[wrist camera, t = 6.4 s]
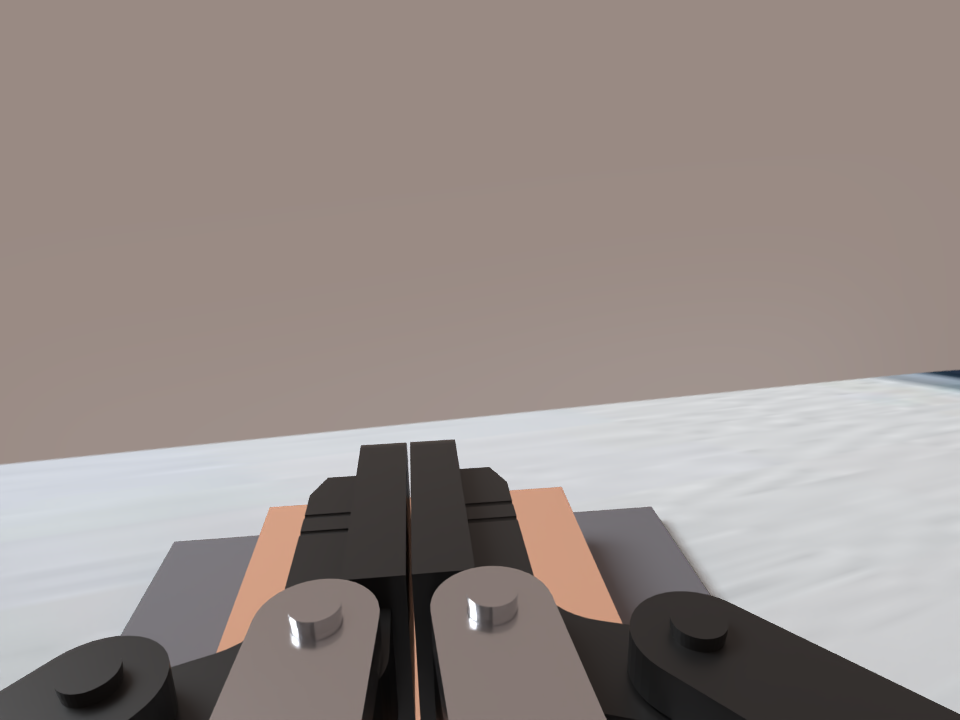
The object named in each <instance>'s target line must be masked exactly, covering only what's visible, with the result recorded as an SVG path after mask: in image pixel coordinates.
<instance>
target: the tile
mask: <svg viewBox="0 0 960 720" xmlns="http://www.w3.org/2000/svg"><path fill="white" fill-rule="evenodd" d="M510 495H511V498H512V504H513V505H514V509H515V512H516V515H517V520H518V522H519V526H520V529H521V533H522V536H523V540H524V543H525V547H526V550H527V554H528V557H529V560H530V564H531V567H532V571H533V574H534V577H536V578H537V579H539V580H540V581H541V582H543V583H544V584H545V586H546V587H547V588H548V589H549V591H550V592H551V594H552V596H553V598H554V601H555V603H556V605H557V606H559V607H560V608H562V609H564V610H566V611H568V612H571V613H573V614H575V615H579V616H582V617H585V618H590V619H595V620H600V621H607V622H614V623H621V624H622V621H621V619H620V617H619V615H618V612H617V610H616V608H615V606H614V603H613V601H612V599H611V597H610V595H609V592H608V590H607V588H606V586H605V583H604V581H603V579H602V577H601V574H600V572H599V570H598V568H597V565H596V563H595V561H594V559H593V556H592V554H591V552H590V550H589V547H588V545H587V543H586V541H585V538H584V536H583V534H582V532H581V529H580V527H579V525H578V523H577V520H576V518H575V516H574V514H573V511H572V509H571V507H570V505H569V502H568V500H567V498H566V496H565V494H564V491H563V489H562V487H554V488H540V489H525V490H511V491H510ZM410 506H411V498H410ZM306 509H307V505H297V506H282V507H270V508H269V511H268V514H267V516H266V519H265V522H264V525H263V527H262V530H261V533H260V535H259V538H258V541H257V544H256V546H255V549H254V552H253V554H252V557H251V560H250V563H249V565H248V568H247V571H246V573H245V576H244V579H243V581H242V584H241V587H240V590H239V592H238V595H237V598H236V600H235V603H234V606H233V609H232V611H231V614H230V617H229V619H228V622H227V625H226V628H225V630H224V633H223V636H222V638H221V641H220V644H219V647H218V649H217V652H216V653H218V652H220V651H223V650H226V649H228V648H230V647H233V646H235V645H237V644H239V643H241V642H242V641H243V640H244V638H245V636H246V633H247V631H248V629H249V626H250V624H251V622H252V620H253V618H254V616H255V614H256V612H257V611H258V610H259V609H260V608H261V606H262V605H263V604H264V603H266V602H267V601H268V600H269V599H270V598H272V597H273V596H275V595H276V594H277V593H279V592H281V591H283V590H285V586H286V582H287V579H288V575H289V571H290V568H291V564H292V560H293V557H294V553H295V549H296V545H297V542H298V538H299V536H300V531H301V527H302V523H303V520H304V519H305V512H306ZM414 639H415V708H416V720H420V704H419V688H418V671H417V655H416V638H415V622H414Z"/></svg>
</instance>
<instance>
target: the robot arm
mask: <svg viewBox="0 0 960 720" xmlns="http://www.w3.org/2000/svg"><path fill="white" fill-rule="evenodd" d="M410 464H411V506H410V489H409V472H408V455H407V443H393V444H377V445H361V448H360V455H359V461H358V468H357V475H356V476H348V477H333V478H327V479H326V480H325V481H324V482H323V483H322V484H321V485H320V486H319V487H318V488H317V489H316V490H315V491H314V492H313V493H312V494H311V495H310V498H309V501H308V505H307V509H306V512H305V519H304V520H303V523H302V527H301V531H300V536H299V538H298V542H297V545H296V549H295V553H294V557H293V560H292V564H291V568H290V571H289V575H288V579H287V582H286V586H285V590H283V591H281V592H279V593H277V594H276V595H275V596H273V597H272V598H270V599H269V600H268V601H267V602H266V603H264V604H263V605H262V606H261V608H260V609H259V610H258V611H257V612H256V614H255V616H254V618H253V620H252V622H251V624H250V626H249V629H248V631H247V633H246V636H245V638H244V640H243V641H242V642H241V643H239V644H237V645H235V646H233V647H230V648H228V649H226V650H223V651H220V652H218V653H215V654H212V655H208V656H205V657H202V658H199V659H196V660H192V661H189V662H186V663H183V664H180V665H176V666H173V667H171V665H170V660H169V657H168V653H167V652H166V650H165V649H164V647H163V646H162V645H160V644H159V643H158V642H156V641H154V640H152V639H149V638H145V637H141V636H115V637H109V638H104V639H100V640H96V641H92V642H89V643H87V644H84V645H81V646H78V647H76V648H74V649H72V650H69V651H67V652H65V653H63V654H62V655H60V656H58V657H56V658H54V659H53V660H51V661H49V662H48V663H46V664H44V665H43V666H41V667H39V668H38V669H36V670H35V671H33V672H31V673H30V674H28V675H26V676H25V677H23V678H21V679H20V680H18V681H16V682H15V683H13V684H11V685H10V686H8V687H6V688H5V689H3V690H2V691H0V720H416V708H415V639H414V622H415V638H416V655H417V671H418V688H419V704H420V720H960V714H958V713H956V712H954V711H952V710H950V709H948V708H946V707H944V706H942V705H940V704H938V703H936V702H934V701H931V700H929V699H927V698H925V697H923V696H921V695H919V694H917V693H915V692H913V691H911V690H909V689H907V688H905V687H903V686H901V685H898V684H896V683H894V682H892V681H890V680H888V679H886V678H884V677H882V676H880V675H878V674H876V673H874V672H872V671H870V670H868V669H865V668H863V667H861V666H859V665H857V664H855V663H853V662H851V661H849V660H847V659H845V658H843V657H841V656H839V655H837V654H835V653H832V652H830V651H828V650H826V649H824V648H822V647H820V646H818V645H816V644H814V643H812V642H810V641H808V640H806V639H804V638H802V637H799V636H797V635H795V634H793V633H791V632H789V631H787V630H785V629H783V628H781V627H779V626H777V625H775V624H773V623H771V622H769V621H766V620H764V619H762V618H760V617H758V616H756V615H754V614H752V613H750V612H748V611H746V610H744V609H742V608H740V607H738V606H736V605H733V604H731V603H729V602H727V601H725V600H722V599H720V598H717V597H714V596H711V595H707V594H702V593H697V592H688V591H673V592H665V593H661V594H657V595H654V596H652V597H650V598H647V599H646V600H644V601H643V602H641V603H640V604H639V605H638V606H637V607H636V608H635V610H634V612H633V613H632V615H631V619H630V625H627V624H621V623H614V622H607V621H600V620H595V619H590V618H585V617H582V616H579V615H575V614H573V613H571V612H568V611H566V610H564V609H562V608H560V607H559V606H557V605H556V603H555V601H554V598H553V596H552V594H551V592H550V591H549V589H548V588H547V587H546V586H545V584H544V583H543V582H541V581H540V580H539V579H537V578H536V577H534V574H533V571H532V567H531V564H530V560H529V557H528V554H527V550H526V547H525V543H524V540H523V536H522V533H521V529H520V526H519V522H518V520H517V515H516V512H515V509H514V505H513V504H512V498H511V495H510V491H509V488H508V484H507V482H506V481H505V480H504V479H503V478H502V477H500V476H499V475H498V474H497V473H496V472H494V471H493V470H492V469H491V468H490V467H484V468H469V469H459V462H458V456H457V450H456V443H455V440H440V441H423V442H410Z"/></svg>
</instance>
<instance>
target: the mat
mask: <svg viewBox="0 0 960 720" xmlns="http://www.w3.org/2000/svg"><path fill="white" fill-rule="evenodd" d="M573 514H574V516H575V518H576V520H577V523H578V525H579V527H580V529H581V532H582V534H583V536H584V538H585V541H586V543H587V545H588V547H589V550H590V552H591V554H592V556H593V559H594V561H595V563H596V565H597V568H598V570H599V572H600V574H601V577H602V579H603V581H604V583H605V586H606V588H607V590H608V592H609V595H610V597H611V599H612V601H613V603H614V606H615V608H616V610H617V612H618V615H619V617H620V619H621V621H622V624H627V625H630V619H631V615H632V613H633V612H634V610H635V608H636V607H637V606H638V605H639V604H640V603H641V602H643V601H644V600H646V599H647V598H650V597H652V596H654V595H657V594H661V593H665V592H673V591H688V592H697V593H702V594H707V595H710V594H709V592H708V591H707V589H706V588H705V586H704V585H703V583H702V582H701V580H700V579H699V577H698V576H697V574H696V573H695V571H694V570H693V568H692V567H691V565H690V564H689V562H688V561H687V559H686V558H685V556H684V555H683V553H682V552H681V550H680V549H679V547H678V546H677V544H676V543H675V541H674V540H673V538H672V537H671V535H670V534H669V532H668V531H667V529H666V528H665V526H664V525H663V523H662V522H661V520H660V519H659V517H658V516H657V514H656V513H655V511H654V510H653V508H652V507H641V508H627V509H614V510H600V511H587V512H573ZM258 538H259V536H247V537H233V538H219V539H206V540H192V541H179V542H174V543H173V545H172V547H171V549H170V550H169V552H168V554H167V556H166V557H165V559H164V561H163V563H162V564H161V566H160V568H159V570H158V571H157V573H156V575H155V576H154V578H153V580H152V582H151V583H150V585H149V587H148V589H147V590H146V592H145V594H144V596H143V597H142V599H141V601H140V603H139V604H138V606H137V608H136V610H135V611H134V613H133V615H132V617H131V618H130V620H129V622H128V624H127V625H126V627H125V629H124V630H123V632H122V634H121V636H141V637H145V638H149V639H152V640H154V641H156V642H158V643H159V644H160V645H162V646H163V647H164V649H165V650H166V652H167V653H168V657H169V660H170V665H171V667H173V666H176V665H180V664H183V663H186V662H189V661H192V660H196V659H199V658H202V657H205V656H208V655H212V654H215V653H216V652H217V649H218V647H219V644H220V641H221V638H222V636H223V633H224V630H225V628H226V625H227V622H228V619H229V617H230V614H231V611H232V609H233V606H234V603H235V600H236V598H237V595H238V592H239V590H240V587H241V584H242V581H243V579H244V576H245V573H246V571H247V568H248V565H249V563H250V560H251V557H252V554H253V552H254V549H255V546H256V544H257V541H258Z"/></svg>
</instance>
